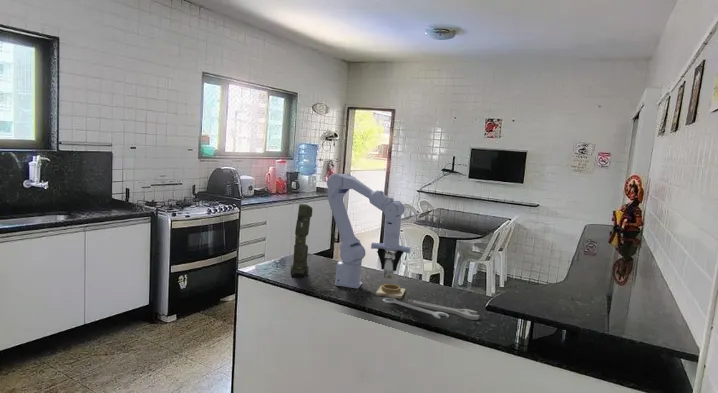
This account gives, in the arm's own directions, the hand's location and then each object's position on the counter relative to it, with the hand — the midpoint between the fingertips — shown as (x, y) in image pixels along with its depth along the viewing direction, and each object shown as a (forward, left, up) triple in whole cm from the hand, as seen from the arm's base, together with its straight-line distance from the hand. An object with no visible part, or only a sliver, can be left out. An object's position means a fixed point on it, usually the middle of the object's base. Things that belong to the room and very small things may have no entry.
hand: (388, 269), depth 172 cm
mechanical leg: (-38, +10, -10) cm, 41 cm away
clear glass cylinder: (0, 0, -3) cm, 3 cm away
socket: (+1, +2, -9) cm, 10 cm away
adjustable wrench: (+21, -8, -10) cm, 25 cm away
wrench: (+12, -11, -10) cm, 19 cm away
